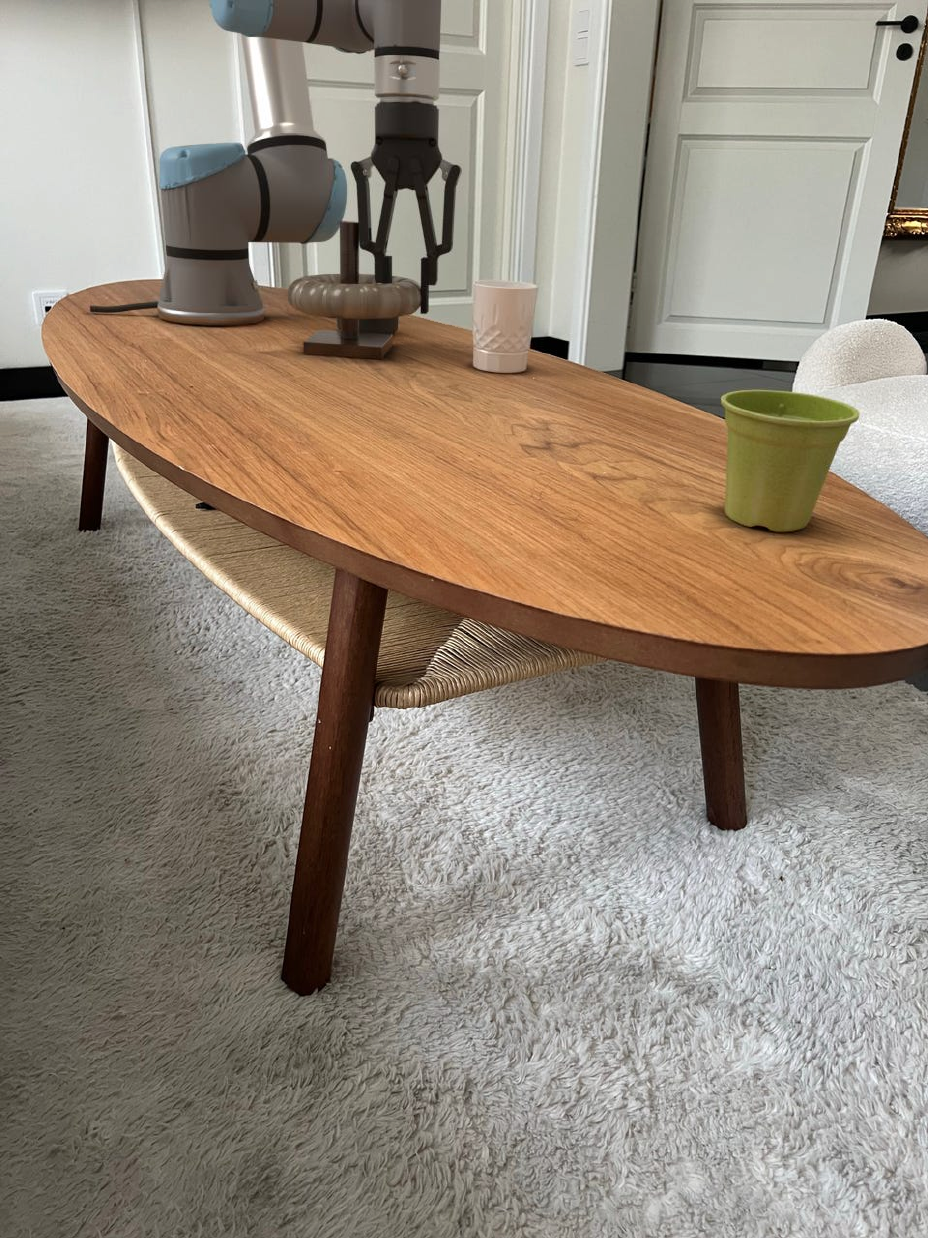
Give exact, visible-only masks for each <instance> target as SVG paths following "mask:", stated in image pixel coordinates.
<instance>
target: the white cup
mask: <svg viewBox="0 0 928 1238" xmlns="http://www.w3.org/2000/svg"><path fill="white" fill-rule="evenodd" d="M538 290H539V286H538V285H537V284H534V283H529V282H523V281H517V280H516V281H515V280H501V279H481V280H474V281H473V282H472V318H471V319H472V323H471V326H472V329H471V331H472V334H471V335H472V345H473V347H472V349H473V350H472V354H473V355H472V367H473V368H475V369H477V370H478V371H479V370H480V371H484V372H490V373H498V374H517V373H521V372H525V371H526V370H527V363H528V353H529V349H530V348H531V341H532V335H533V328H534V322H535V314H536V306H537V299H538V298H537V297H538Z"/></svg>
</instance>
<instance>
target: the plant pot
mask: <svg viewBox="0 0 928 1238" xmlns="http://www.w3.org/2000/svg"><path fill="white" fill-rule="evenodd" d="M720 404H721V406H722V407H723V408H724V412H725V413H724V414H725V415H724V422H725V426H726V427H727V441H726V443H727V444H726V467H725V468H726V469H725V489H724V490H725V492H724V513H725V515H726V516H727V517H728V518H729V519H730V520H732V521H733V522H736V523H738V524H739V525H741V526H743V527H749V528H752V527H755V526H759V527H765V528H767V529H768V530H769V531H772V532H778V533H783V532H793V531H799V530H802V529H804V528H806V527H807V525H808V524H809V522H810V520H811V517H812V515H813V513H814V510H815V507H816V506H817V505H816V504H817V501H818V500H819V496H820V494H821V492H822V490H823V486H824V484H825V481H826V480H827V479H826V478H827V476H828V474H829V471H830V469H831V467H832V464H833V461H834V459H835V456H836V454H837V452H838V449H839V447H840V444H841V442H842V441H844V439H845V438H846V437H847V435H848V432H849V430H850V427H851V426H852V424H855V423H856V422H858V420H859V418H860V411H859V410H858V409H856V407H854V406H852V405H850V404H847V403H845V402H842V401H839V400H836V399H831V398H828V397H824V396H819V395H815V394H809V393H804V392H795V391H788V390H787V391H786V390H772V389H741V390H737V391H735V390H734V391H730V392H727V393H725V394H723V395H721V398H720Z"/></svg>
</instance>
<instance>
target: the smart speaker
mask: <svg viewBox="0 0 928 1238" xmlns="http://www.w3.org/2000/svg"><path fill="white" fill-rule="evenodd" d="M399 318H400V317H394V318H381V319H359V332H362V333H376V334H391V335H394V334H395V333H396V332H397V331H398V329H399V321H400V320H399ZM336 327H337V328H338V331H340V318H336Z"/></svg>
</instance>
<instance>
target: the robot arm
mask: <svg viewBox="0 0 928 1238" xmlns="http://www.w3.org/2000/svg"><path fill="white" fill-rule="evenodd" d="M208 4H209V7H210V8H211V16H212V18H213V20H214V22H215V23H216V24H217V26H218V27H219V28H220V29H222V30H224V31H226V32H231V33H236V34H240V37H241V45H242V51H243V52H242V53H243V58H244V64H245V71H246V79H247V85H248V92H249V93H248V94H249V100H250V107H251V113H252V121H253V129H254V134H253V136H252V138H251V139H250V140H249V141H248V143H247V144H246V150H245V148H244V145H243V144H242V143H241V142H217V143H198V144H186V145H179V146H171V147H168V148H166V149H164V150H163V151H162V152H161V153H160V156H159V160H158V165H159V166H158V168H159V173H158V174H159V175H158V177H159V178H158V179H159V182H158V189H160V199H161V209H162V223H163V232H164V233H163V234H164V243H165V256H166V264H165V268H164V272H163V278H162V281H161V286H160V291H159V295H158V300H157V301H146V302H136V303H128V304H127V303H126V304H120V305H119V304H118V305H109V306H108V305H107V306H105V305H104V306H102V305H89V311H90V313H102V314H114V313H123V312H131V311H138V310H139V311H140V310H151V309H157V312H158V313H157V315H158V318H160V319H161V320H163V321H168V322H171V323H177V324H184V325H196V326H239V325H249V324H250V325H251V324H254V323H255V324H256V323H259V322H262V321H263V320H265V306H264V302H263V300H262V296H261V294H260V291H259V288H260V286H259V283H258V281H257V279H255V277H254V273H253V271H252V269H251V264H250V250H249V249H250V248H249V245H250V244H249V243H272V244H273V243H274V244H275V243H280V244H281V243H283V244H287V243H288V244H289V243H290V244H292V243H293V244H301V245H307V244H311V243H325V242H327V241H329V240H331V239H333V237H335V236H336V234H337V233H338V231H340V221H344V218H345V214H346V209H347V204H348V203H347V202H348V181H347V177H346V172H345V170H344V169H343V166H342V163H341V162H339V161H338V160H336V159H334V158H332V157H329V155H328V150H327V141H326V139H325V138H324V137H322V136H321V135H320V133H318V132H317V131H316V130H315V129H314V121H313V113H312V112H313V111H312V106H311V97H310V90H309V82H308V74H307V66H306V58H305V51H304V43H306V44H311V45H316V46H317V45H318V46H325V47H332V48H333V49H335V50H336V51H337V52H341V53H344V54H357V55H362V54H365V53H367V52H371V51H373V52H374V96H375V97H376V98H377V99H379V102H377V103H376V105H375V106H374V145H373V148H372V150H371V153H370V156H368V157H366V158H364V159H361V160H359V161H356V160H355V161H352V162H351V163H350V170H351V173H352V176H353V178H354V181H355V183H356V184H355V185H356V203H357V204H356V205H357V222H358V226H359V249H361V250H363V251H366V252H368V253H370V254H372V256H373V257H374V274H375V281H376V283H383V284H389V283H392V276H393V256H392V255H387V253H388V250H387V249H388V244H389V239H390V233H391V228H392V224H393V223H392V222H393V217H394V212H395V206H396V201H397V197H398V193H399V191H402V190H405V189H407V190H409V191H414V192H415V193H414V194H415V198H416V200H417V206H418V212H419V217H420V225H421V228H422V229H421V230H422V235H423V240H424V247H425V251H426V254H425V255H426V256H423V257H422V258H420V286H421V306H420V310H419V311H420V312H419V313H420V314H421V315H427V314H428V313H429V312H430V311H429V309H430V307H429V306H430V305H429V303H430V286H433V287H434V286H436V285H437V283H438V279H439V278H438V277H439V276H438V275H439V274H438V273H439V272H438V271H439V258H440V257H441V256H443V255H445V254H449V253H450V252H452V250H453V248H454V233H455V232H454V231H455V213H456V212H455V211H456V197H457V196H456V194H457V186H458V183H459V180H460V178H461V175H462V172H463V169H462V167H461V166H460V165H459V164H453V163H451V162H449V161H448V160H445V159H443V155H442V152H441V150H440V147H439V124H440V123H439V122H440V121H439V119H440V109H439V108H438V105H435V101H438V100H439V98H440V75H441V74H440V71H441V70H440V68H441V60H440V53H441V50H440V49H441V24H442V23H441V21H442V20H441V17H442V0H208ZM246 152H247V153H246ZM373 167H375V169H376V170H377V172H378V174H379V175H380V177H381V179H382V180H383V182H384V183H385V184H384V189H383V197H382V203H381V208H380V214H379V219H378V225H377V231H376V236H375V241H374V240H373V233H372V232H373V231H372V210H371V209H372V207H371V187H370V180H369V179H370V178H372V177H373V172H372V170H373ZM439 169H440V170H441V179H442V181H444V182H445V183H444V189H443V208H442V229H441V243H440V244H438V241H437V236H436V230H435V224H434V218H433V212H432V207H431V200H430V193H429V187H428V185H429V183H430V181H431V180H432V179H433V177H434V176H435V175H436V173H437V171H438V170H439Z"/></svg>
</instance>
